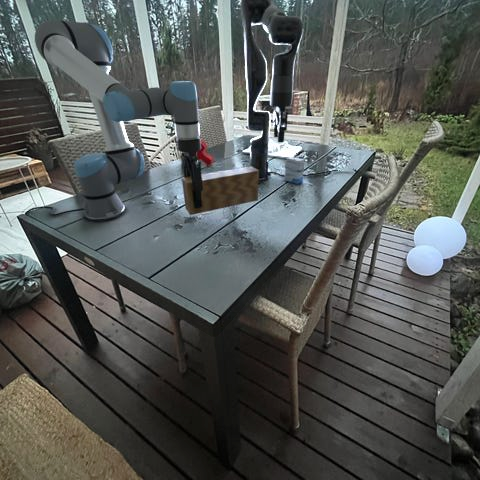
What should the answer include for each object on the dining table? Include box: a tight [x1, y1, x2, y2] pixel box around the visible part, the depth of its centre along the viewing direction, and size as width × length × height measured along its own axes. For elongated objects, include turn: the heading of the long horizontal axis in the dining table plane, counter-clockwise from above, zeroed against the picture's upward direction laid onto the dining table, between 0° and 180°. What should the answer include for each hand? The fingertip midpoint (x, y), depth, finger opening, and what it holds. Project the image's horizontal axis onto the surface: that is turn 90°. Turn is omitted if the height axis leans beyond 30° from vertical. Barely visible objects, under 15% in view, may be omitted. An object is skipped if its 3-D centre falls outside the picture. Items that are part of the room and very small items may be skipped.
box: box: [181, 166, 259, 216], centre depth 101 cm, size 28×6×12 cm, turn 116°
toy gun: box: [179, 138, 215, 167], centre depth 167 cm, size 18×4×15 cm
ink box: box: [284, 156, 306, 185], centre depth 140 cm, size 8×5×12 cm, turn 47°
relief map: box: [242, 138, 304, 160], centre depth 192 cm, size 27×35×5 cm
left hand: (195, 203), depth 99 cm, fingers closed on box, 6 cm apart
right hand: (278, 139), depth 102 cm, fingers open, 8 cm apart
